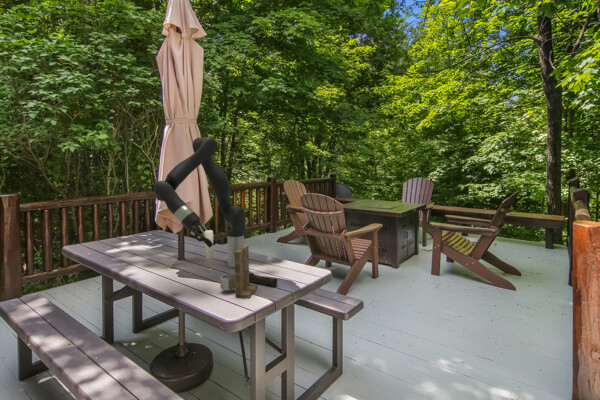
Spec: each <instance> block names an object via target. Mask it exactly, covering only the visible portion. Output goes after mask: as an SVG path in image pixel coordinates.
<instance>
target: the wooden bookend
mask: <svg viewBox="0 0 600 400" xmlns="http://www.w3.org/2000/svg"><path fill="white" fill-rule="evenodd" d="M249 255H250V253H249V245H244V246H243V247H241V248H240V249H239V250H237V251H236V252H235V267H234V275H235V299H237V298H238V299H250V298H251V297H252V296H253V294H254V293H255V292H256V291H257V290H258V288H259V287H258V284H251V283H249V273H250V263H249V262H250V259H249V257H250V256H249Z"/></svg>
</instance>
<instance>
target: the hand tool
mask: <svg viewBox="0 0 600 400" xmlns="http://www.w3.org/2000/svg"><path fill="white" fill-rule="evenodd" d="M252 283H255V284H261V285H263V286H264V285H265V286H269V287H270V286H271V287H272V288H275V287H277V285H278V278H272V277H267V276H260V275H256V274H254V273H253V272H249V284H252Z"/></svg>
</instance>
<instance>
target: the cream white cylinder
mask: <svg viewBox="0 0 600 400" xmlns="http://www.w3.org/2000/svg"><path fill="white" fill-rule="evenodd" d="M205 235H206V237H207V238H208V239H209V240H210V241H211V242H212V243H213V238H214V231H213V230H212V229H211V230H206V231H205ZM204 243H205V242H204ZM204 246H205V258H206V259H214V258H215V252H214V248H215V247H214V245H212V246H211V247H208V246H207V245H206V243H205V245H204Z"/></svg>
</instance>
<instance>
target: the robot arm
mask: <svg viewBox="0 0 600 400" xmlns="http://www.w3.org/2000/svg"><path fill="white" fill-rule="evenodd" d="M192 150H193V154H191V155H190V156H189V157H187V158H185V159H184V160H182V161H181V162H179V163H177V164H176V165H175V166H174V167H173V168H172V169H171V170H170V172H169V173H167V175H166V178H165V180H159V181H157V182H155V184H154V186H153V195H154V198H155V199H156V200H157V201H159V202H164V203H165V205H166V208H167V209H168V210H169V212H170V213H172V215H173V216H174V217H175V218H176V219H177V220H178V222H179V223H180V224H181V225H182V227H184V228H185V229H186V230H187V231H190V232H189V235H190V236H191V237H192V238H194V239H195V240H196V241H198V242H200V243H201V242H202V243H206V245H207V246H208V247H211V246H212V245H213V246H216V244H217V243H218V241H217V240H216V239H215V238H214V237H213V243H212V242H211V241H210V240H209V239H208V238H207V237H206V235H205V231H206V230H212V229H211V228H210V226H209V224H205V225H204V224H203V223H202V222H201V220H202V219H201V217H200V216H199V215H198V214H197V213H196V212H195V211H194V210H193V208H192V207H190V206H189V205H188V204H187V203H186V202H185V201H184V200H183V199H182V198H180V196H179V194H178V193H177V192H176V191H177V189H178V187H179V186H180V185H181V184H182V183H183V182H184V181H185V180H186V179H187V177H188V176H189V175H190V174H191V173H193V171H195V170H196V169H197V168H198V167H199V166H202V168H203V170H204V173H205V175H206V176H207V179H208V181H209V184H210V186H211V188H212V190H213V193H214V195H215V197H216V199H217V202H218V204H219V207H220V210H221V214H222V216H223V218H224V220H225V222H226V223H230V224H232V228H231V229H228V230H227V233H226V234H227V235H226V237H227V267H229V268H235V252H236V251H237V250H239V249H240V248H241V247H243V246H245V230H246V211H245V209H244V208H243V207H237V206H233V204H232V202H231V199H230V193H231V184H230V181H229V179H228V176H227V174H226V173H225V172H224V171H223V169H222V168H221V167H220V166H219V165H218V164H217V162H216V161H215V160H214V158H213V155H215V153H216V152H218V151H217V150H218V143H217V141H216V139H214V138H213V137H206V136H204V137H202V136H201V137H196V138H195V139H194V140H193V141H192Z"/></svg>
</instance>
